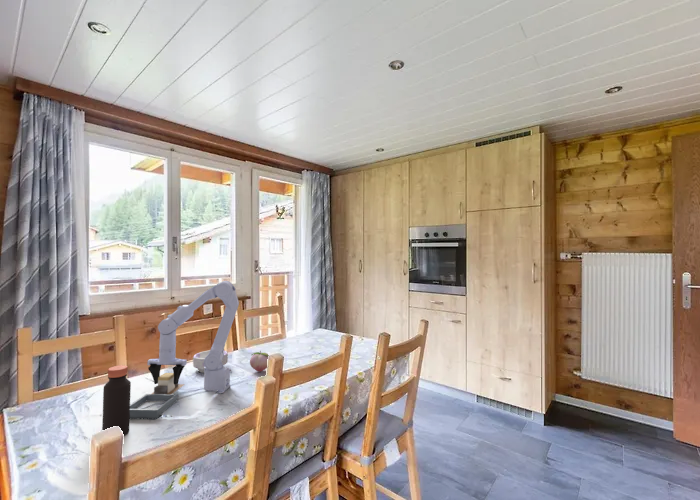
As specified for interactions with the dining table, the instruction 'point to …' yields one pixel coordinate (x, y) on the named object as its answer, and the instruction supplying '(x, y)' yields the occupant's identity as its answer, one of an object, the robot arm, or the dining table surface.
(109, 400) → the bottle
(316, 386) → the dining table surface
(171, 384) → the white and tan block
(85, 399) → the dining table surface
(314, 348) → the dining table surface
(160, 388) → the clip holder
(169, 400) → the tray
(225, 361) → the white bowl
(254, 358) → the decorative fruit
